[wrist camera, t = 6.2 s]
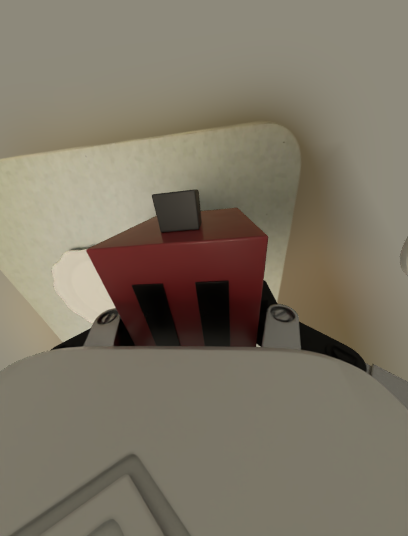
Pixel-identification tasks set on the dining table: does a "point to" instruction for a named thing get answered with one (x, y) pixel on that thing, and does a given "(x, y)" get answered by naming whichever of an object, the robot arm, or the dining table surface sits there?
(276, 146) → the dining table surface
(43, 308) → the dining table surface
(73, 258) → the plate
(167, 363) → the robot arm
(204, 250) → the toaster
